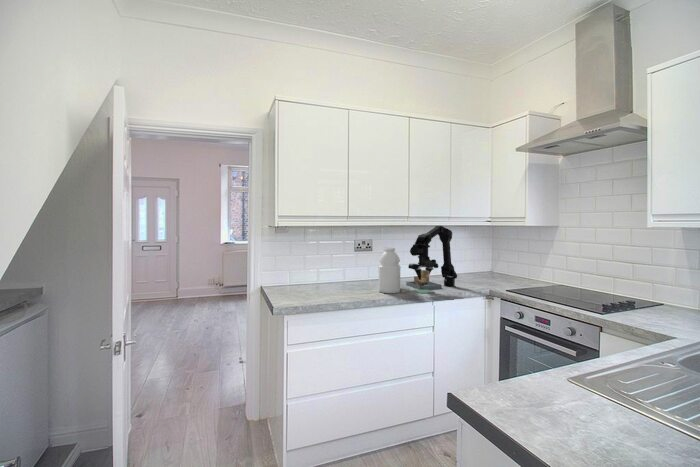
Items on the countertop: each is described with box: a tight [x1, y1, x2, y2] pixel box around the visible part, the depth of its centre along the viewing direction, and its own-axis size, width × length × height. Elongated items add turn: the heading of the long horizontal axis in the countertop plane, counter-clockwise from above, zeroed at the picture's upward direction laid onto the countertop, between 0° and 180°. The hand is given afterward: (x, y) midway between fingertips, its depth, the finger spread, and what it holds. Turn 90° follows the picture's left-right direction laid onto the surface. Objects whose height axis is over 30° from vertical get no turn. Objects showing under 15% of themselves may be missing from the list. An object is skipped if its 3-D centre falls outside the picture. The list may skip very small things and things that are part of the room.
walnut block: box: [413, 275, 424, 286], centre depth 234 cm, size 5×5×6 cm
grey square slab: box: [406, 280, 443, 290], centre depth 229 cm, size 16×18×3 cm
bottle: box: [378, 247, 401, 294], centre depth 215 cm, size 14×14×28 cm
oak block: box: [418, 269, 430, 283], centre depth 212 cm, size 5×5×7 cm
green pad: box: [412, 289, 436, 295], centre depth 212 cm, size 10×10×1 cm
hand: (423, 279), depth 212 cm, fingers closed on oak block, 5 cm apart
